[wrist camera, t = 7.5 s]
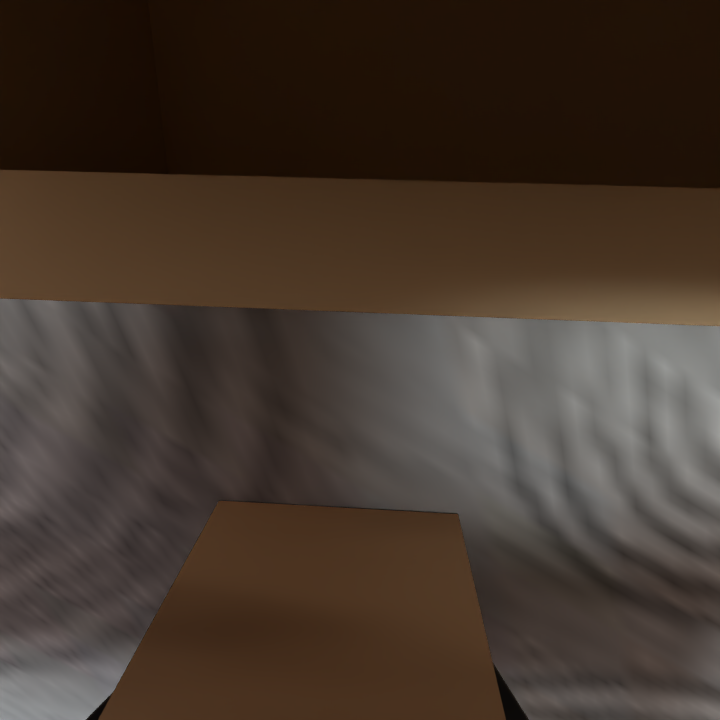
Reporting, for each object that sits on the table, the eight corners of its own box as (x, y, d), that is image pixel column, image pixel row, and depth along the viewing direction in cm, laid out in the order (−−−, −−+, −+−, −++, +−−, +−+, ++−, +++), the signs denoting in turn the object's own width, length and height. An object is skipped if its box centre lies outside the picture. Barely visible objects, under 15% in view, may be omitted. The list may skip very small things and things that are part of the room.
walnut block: (437, 680, 10) (477, 1053, 5) (236, 665, 10) (124, 1016, 6) (458, 514, 8) (537, 857, 4) (219, 500, 8) (45, 814, 4)
